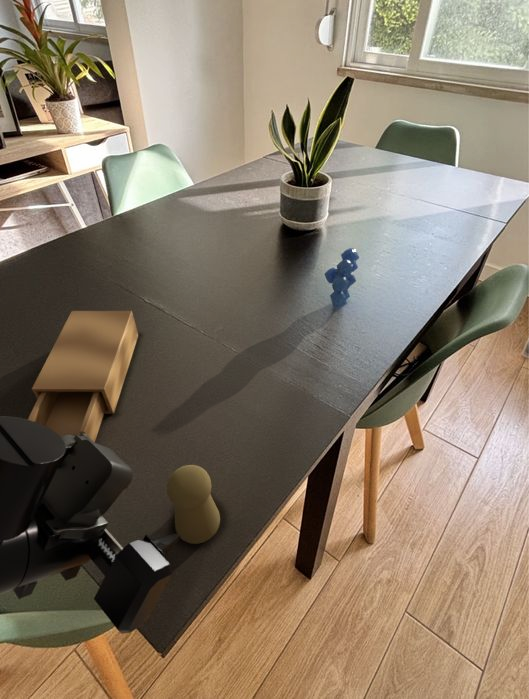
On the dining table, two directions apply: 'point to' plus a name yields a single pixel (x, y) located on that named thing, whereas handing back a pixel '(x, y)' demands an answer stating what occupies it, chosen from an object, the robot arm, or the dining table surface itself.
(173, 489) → the olive rounded upright piece
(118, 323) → the cabinet
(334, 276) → the grapes
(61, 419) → the drawer
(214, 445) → the dining table surface
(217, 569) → the dining table surface
